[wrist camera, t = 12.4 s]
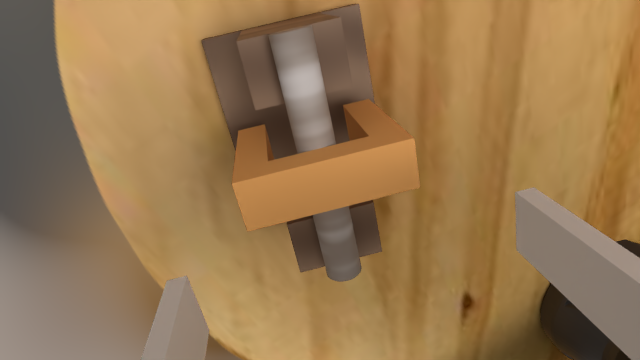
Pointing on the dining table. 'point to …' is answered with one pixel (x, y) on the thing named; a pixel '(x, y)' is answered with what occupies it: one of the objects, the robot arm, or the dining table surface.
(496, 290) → the dining table surface
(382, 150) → the orange open frame
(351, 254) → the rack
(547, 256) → the robot arm
